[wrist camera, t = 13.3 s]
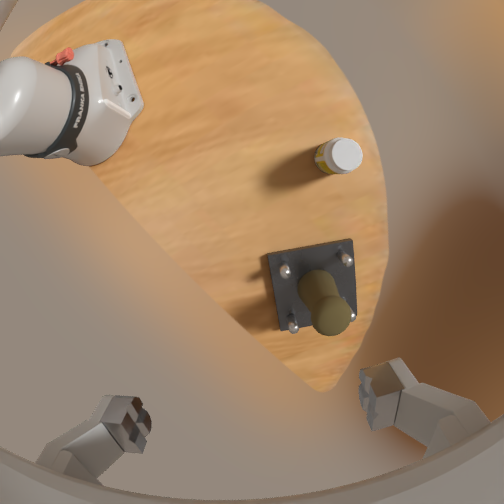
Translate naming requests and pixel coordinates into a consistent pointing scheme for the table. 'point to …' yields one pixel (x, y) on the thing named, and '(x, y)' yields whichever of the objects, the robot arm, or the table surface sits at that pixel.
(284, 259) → the standoff chassis
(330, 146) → the supplement bottle
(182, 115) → the table surface
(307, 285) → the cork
